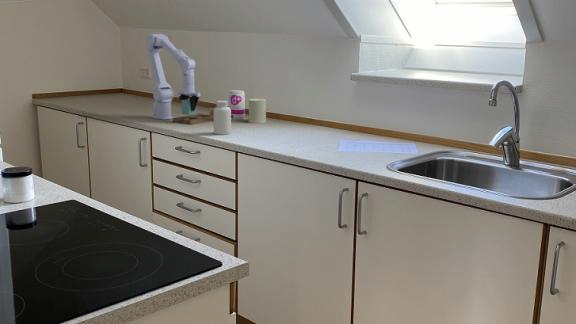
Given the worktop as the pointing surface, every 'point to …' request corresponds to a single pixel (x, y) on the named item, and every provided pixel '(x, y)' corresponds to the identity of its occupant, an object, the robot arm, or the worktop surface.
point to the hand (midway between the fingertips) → (189, 109)
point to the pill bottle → (222, 118)
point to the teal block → (187, 107)
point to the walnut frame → (194, 119)
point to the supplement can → (237, 104)
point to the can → (257, 110)
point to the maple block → (211, 111)
